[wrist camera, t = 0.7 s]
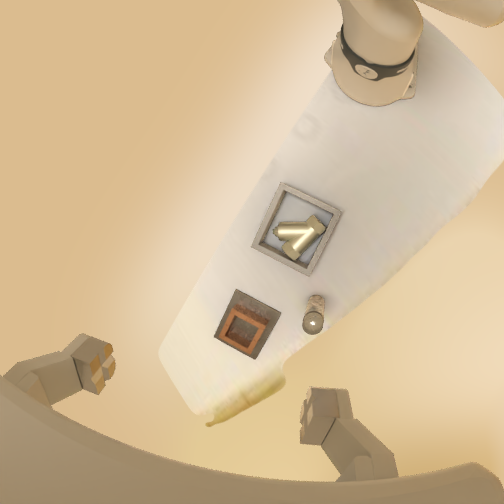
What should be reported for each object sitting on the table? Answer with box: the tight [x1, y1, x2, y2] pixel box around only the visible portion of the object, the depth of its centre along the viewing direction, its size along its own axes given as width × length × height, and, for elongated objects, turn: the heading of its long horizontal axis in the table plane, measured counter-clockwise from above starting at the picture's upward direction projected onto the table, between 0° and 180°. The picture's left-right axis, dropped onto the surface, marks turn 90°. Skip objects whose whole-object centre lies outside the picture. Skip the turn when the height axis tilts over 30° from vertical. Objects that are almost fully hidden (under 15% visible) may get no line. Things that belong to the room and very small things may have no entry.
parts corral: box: [251, 182, 341, 276], centre depth 51 cm, size 12×12×4 cm
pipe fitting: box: [273, 215, 327, 260], centre depth 51 cm, size 8×4×7 cm
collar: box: [214, 289, 281, 359], centre depth 56 cm, size 12×10×4 cm
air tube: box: [302, 295, 325, 335], centre depth 48 cm, size 3×3×11 cm
